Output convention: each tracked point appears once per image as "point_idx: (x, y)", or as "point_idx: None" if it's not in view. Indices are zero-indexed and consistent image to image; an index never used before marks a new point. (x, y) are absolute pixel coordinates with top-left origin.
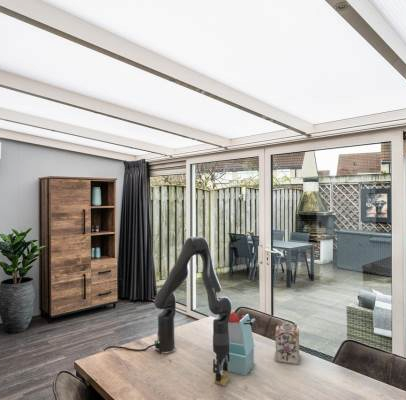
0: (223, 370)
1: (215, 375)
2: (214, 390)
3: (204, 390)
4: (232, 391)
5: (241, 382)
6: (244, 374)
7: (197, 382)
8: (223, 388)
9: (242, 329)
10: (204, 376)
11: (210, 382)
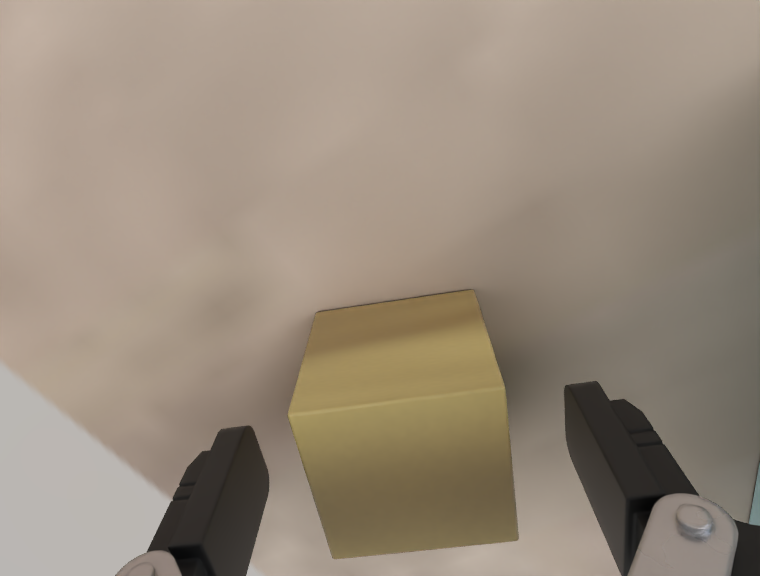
0: (501, 481)
1: (295, 397)
2: (158, 393)
3: (43, 289)
4: (303, 545)
5: (548, 542)
6: (757, 515)
7: (114, 38)
8: (284, 452)
9: None
10: (391, 15)
11: (287, 239)
